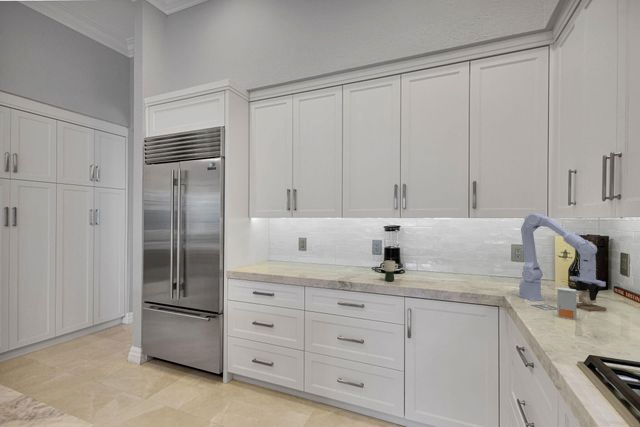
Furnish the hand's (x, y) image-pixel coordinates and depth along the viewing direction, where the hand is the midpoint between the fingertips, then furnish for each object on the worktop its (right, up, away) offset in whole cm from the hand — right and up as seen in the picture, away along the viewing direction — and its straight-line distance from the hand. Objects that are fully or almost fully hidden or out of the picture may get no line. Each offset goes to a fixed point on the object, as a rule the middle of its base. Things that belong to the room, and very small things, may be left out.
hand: (588, 299), depth 154 cm
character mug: (-77, -5, +67) cm, 103 cm away
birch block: (0, -2, 0) cm, 2 cm away
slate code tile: (-18, -4, +2) cm, 19 cm away
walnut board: (0, -4, 0) cm, 4 cm away
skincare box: (-20, -5, -14) cm, 25 cm away
